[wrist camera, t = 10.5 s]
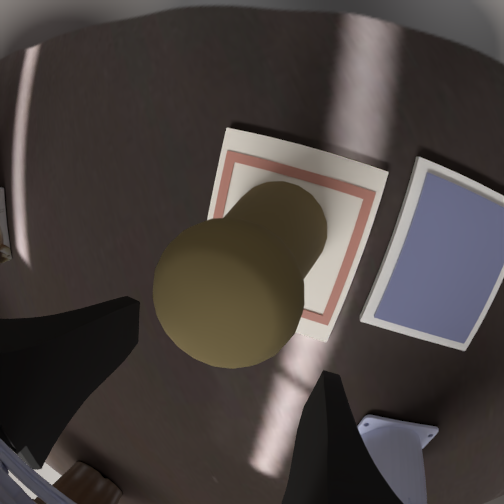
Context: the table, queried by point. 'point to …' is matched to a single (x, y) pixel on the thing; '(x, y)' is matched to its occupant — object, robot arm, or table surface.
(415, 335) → the ink pad
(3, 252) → the coffee box
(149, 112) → the table surface
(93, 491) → the plant pot
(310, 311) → the marked board
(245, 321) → the cork
